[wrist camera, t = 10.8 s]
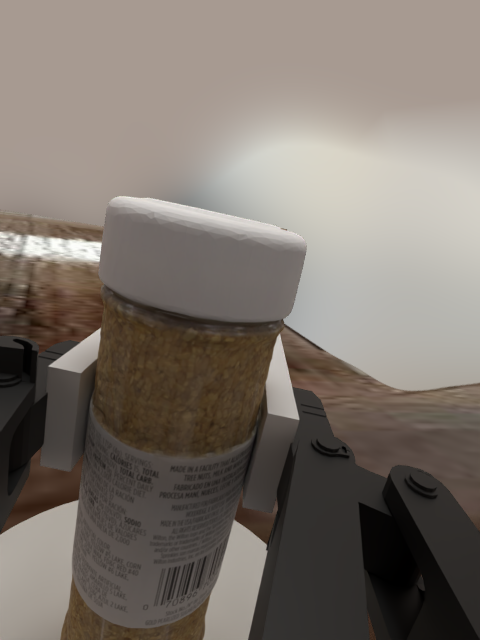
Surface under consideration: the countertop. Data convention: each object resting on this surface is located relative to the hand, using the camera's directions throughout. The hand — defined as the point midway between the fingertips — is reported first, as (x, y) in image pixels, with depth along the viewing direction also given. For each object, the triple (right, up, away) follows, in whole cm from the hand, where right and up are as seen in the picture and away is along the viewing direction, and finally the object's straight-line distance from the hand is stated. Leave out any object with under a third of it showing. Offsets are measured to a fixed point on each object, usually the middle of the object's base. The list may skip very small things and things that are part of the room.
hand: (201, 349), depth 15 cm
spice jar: (-2, -9, -3) cm, 10 cm away
